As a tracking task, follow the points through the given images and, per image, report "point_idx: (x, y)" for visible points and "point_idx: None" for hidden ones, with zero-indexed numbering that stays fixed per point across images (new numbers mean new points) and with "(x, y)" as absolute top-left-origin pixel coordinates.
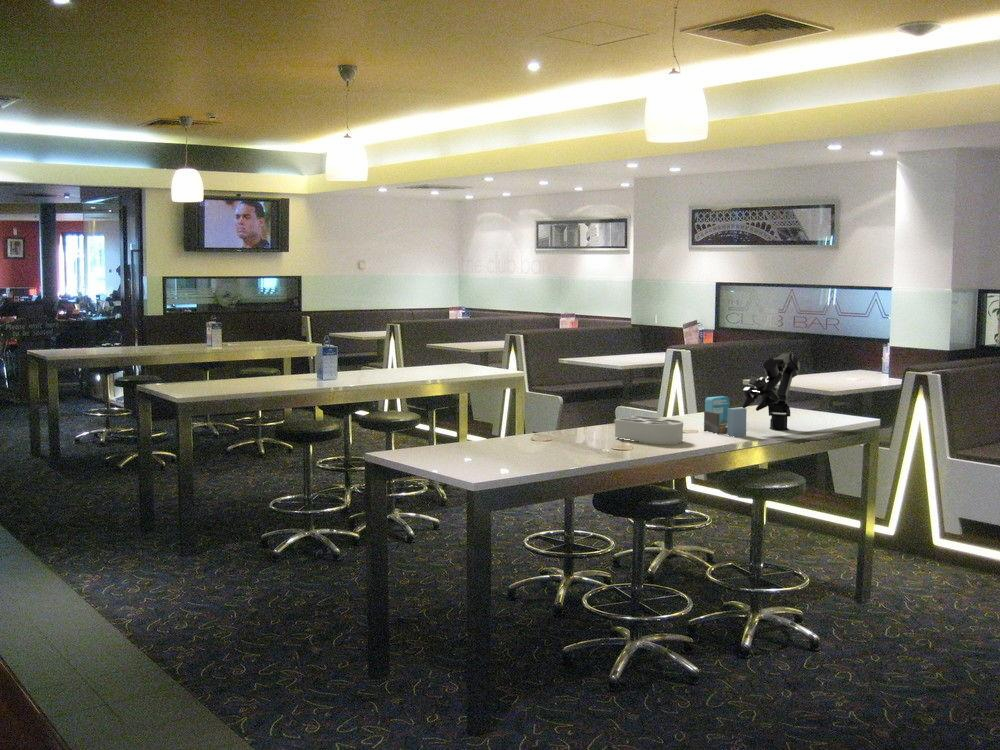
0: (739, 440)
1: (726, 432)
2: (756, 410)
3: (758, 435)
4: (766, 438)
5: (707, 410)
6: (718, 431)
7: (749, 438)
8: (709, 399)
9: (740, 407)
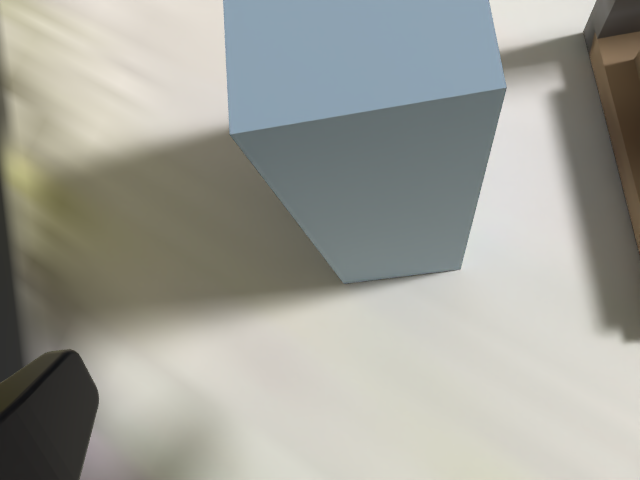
0: (118, 77)
1: (618, 151)
2: (87, 379)
3: (317, 455)
4: None
5: None
6: (595, 27)
7: (174, 227)
8: None
9: (502, 77)
